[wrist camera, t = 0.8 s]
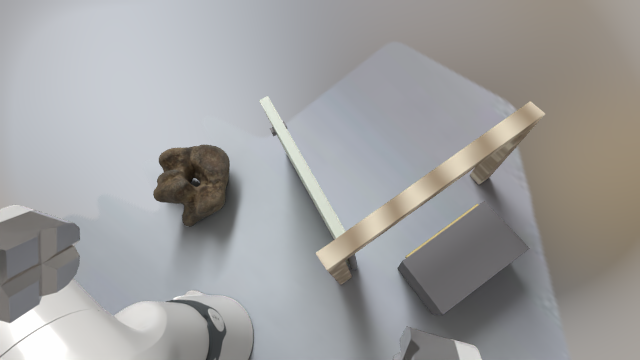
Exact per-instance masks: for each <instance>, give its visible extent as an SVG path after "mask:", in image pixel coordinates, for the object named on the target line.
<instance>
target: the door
mask: <svg viewBox="0 0 640 360" xmlns="http://www.w3.org/2000/svg"><path fill="white" fill-rule="evenodd" d="M259 101H260V103H261V105H262V107H263V109H264V111H265V113H266V115H267V117H268V119H269V120H270V122H271V124H272V126H273V127H272V128H270V130H271V132H272V134H273V136H275V135H277V136H278V138H279V140H280V142H281V144H282V146H283V148H284V150H285V152H286V154H287V155H288V157H289V159H290V161H291V163H292V164H293V166H294V168H295V170H296V172H297V173H298V175H299V177H300V179H301V181H302V182H303V184H304V186H305V188H306V190H307V191H308V193H309V195H310V197H311V199H312V200H313V202H314V204H315V206H316V208H317V209H318V211H319V213H320V215H321V217H322V218H323V220H324V222H325V224H326V226H327V228H328V229H329V231H330V233H331V235H332V237H333V238H334V240H335V239H336V238H338V237H339V236H340V235H342V234H343V233H345V232H346V231H345V230H344V228H343V226H342V224H341V223H340V221H339V219H338V217H337V216H336V214H335V212H334V210H333V209H332V207H331V205H330V204H329V202H328V200H327V198H326V197H325V195H324V193H323V191H322V190H321V188H320V186H319V184H318V183H317V181H316V179H315V177H314V176H313V174H312V172H311V170H310V169H309V167H308V165H307V163H306V162H305V160H304V158H303V156H302V155H301V153H300V151H299V150H298V148H297V146H296V144H295V143H294V141H293V139H292V137H291V136H290V134H289V132H288V130H287V127H286V125H285V123H284V121H283V122H282V120H281V118H280V116H279V115H278V113H277V111H276V109H275V108H274V106H273V104H272V102H271V101H270V99H269V97H268V96H267V97H265V98H263V99H261V100H259ZM346 262H347V264H348V265H349V264H350V267H351V269H352V270H356V269H357V262H356V258H355V254H353V255H352V256H351V257H349V258H348V259H346Z"/></svg>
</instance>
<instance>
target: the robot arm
mask: <svg viewBox="0 0 640 360" xmlns="http://www.w3.org/2000/svg"><path fill="white" fill-rule="evenodd" d="M79 241H80V228H79V227H78V226H77V225H76V224H75V223H73V222H70V221H67V220H64V219H61V218H58V217H55V216H52V215H49V214H46V213H42V212H40V211H36V210H34V209H30V208H27V207H24V206H18V205H11V206H8V207H5V208H2V209H0V360H248V359H249V356H250V354H251V350H252V345H253V328H252V323H251V320H250V318H249V316H248V314H247V312H246V310H245V309H244V308H243V307H242V306H241V305H240V304H239V303H238V302H237V301H235V300H234V299H232V298H229V297H226V296H221V295H206V294H204V293H201V292H199V291H196V290H192V291H189V292H187V293H186V294H185V295H184V296H178V297H175V298H174V299H173V300H171V301H166V302H157V301H142V302H138V303H135V304H132V305H130V306H128V307H126V308H125V309H123V310H121V311H120V312H118V313H117V314H116V315H115V316H113V315H112V314H111V313H109V312H108V311H106V310H105V309H104V308H103V307H102V306H101V305H100V304H99V303H98V302H97V301H96V300H95V299H94V298H93V297H92V296H91V295H90V294H89V293H88V292H87V291H86V290H85V289H84V288H83V287H82V286H81V285H80V284H79V283H78V282H77V281H76V280H75V279H74V276H75V275H76V273H77V270H78V267H79V261H80V256H79V254H78V252H77V250H76V248H75V247H74V246H75V245H76V244H77V243H78V242H79ZM400 351H401V352H399V353H398V354H396V355H394V357H393V360H482V358H481V356H480V353H479V350H478V349H477V348H476V347H475V346H474V345H471V344H468V343H464V342H460V341H457V340H453V339H451V340H450V339H447V338H444V337H440V336H437V335H434V334H430V333H427V332H424V331H421V330H417V329H414V328H411V327H406V328H405V330H404V331H403V333H402V336H401V338H400Z"/></svg>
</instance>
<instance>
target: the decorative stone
mask: <svg viewBox="0 0 640 360" xmlns="http://www.w3.org/2000/svg"><path fill="white" fill-rule="evenodd" d="M159 163H160V165H161V167H162V168H163V170H164V173H162V174H161V175H160V176H159V177H158V179H157V183H158V186H157V187H156V189H155V190H154V194H153V195H154V198H155V199H156V200H157V201H160V202H167V203H182V204H184V212H183V215H182V221H183V223H184V225H186V226H189V227H190V226H193V225H194V224H195V223H197V222H198V221H200V220H201V219H203V218H205V217H207V216H209V215H211V214H213V213H214V212H217V211H219V210H220V209H221V208H222V207H223V205H224V203H225V191H226V186H227V183H228V178H229V166H230V165H229V158H228V156H227V154H226V153H225V152H224V151H223V150H222V149H220V148H218V147H216V146H211V145H200V146H194V147H189V148H172V149H169V150H166V151H165V152H163V153H162V154H161V155H160V157H159ZM193 178H196V179H198V180H199V181H200V186H198V187H195V186H193V185H191V182H192V179H193Z"/></svg>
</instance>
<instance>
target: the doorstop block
mask: <svg viewBox="0 0 640 360" xmlns="http://www.w3.org/2000/svg"><path fill="white" fill-rule="evenodd" d="M528 249H530V248H529V247H528V246H527V245H526V244H525V243H524V242H523V241H522V240H521V239H520V238H519V237H518V236H517V235H516V233H515V232H514V231H513V230H512V229H511V228H510V227H509V226H508V225H507V224H506V223H505V222H504V221H503V220H502V219H501V218H500V217H499V216H498V214H497V213H496V212H495V211H494V210H493V209H492V208H491V207H490V206H489V205H488V204H487V203H486V202H485V201H484V202H482V203H481V204H480V205H478V204H476V205H475V206H474V207H472V208H471V209H470V210H468V211H467V212H465V213H464V214H463V215H461V216H460V217H459V218H457V219H456V220H455V221H453V222H452V223H450V224H449V225H448V226H446V227H445V228H444V229H442V230H441V231H440V232H438V233H437V234H435V235H434V236H433V237H431V238H430V239H429V240H427V241H426V242H425V243H423V244H422V245H420V246H419V247H418V248H416V249H415V250H414V251H412V252H411V253H410V254H408V255H407V256H406V257H405V258H406V259H405V260H403V261H402V262H401V264H400V265H399V267H398V270H399V271H400V272H401V274H402V275H403V276H404V278H405V279H406V280H407V282H408V283H409V284H410V285H411V287H412V288H413V289H414V291H415V292H416V293H417V295H418V296H419V297H420V299H421V300H422V301H423V303H424V304H425V305H426V307H427V308H428V309H429V311H430V312H431V313H432V314H436V315H443V314H445V313H446V312H447V311H449V310H450V309H451V308H452V307H454V306H455V305H456V304H458V303H459V302H460V301H462V300H463V299H464V298H465V297H467V296H468V295H469V294H471V293H472V292H473V291H475V290H476V289H477V288H479V287H480V286H481V285H482V284H484V283H485V282H486V281H488V280H489V279H490V278H492V277H493V276H494V275H496V274H497V273H498V272H499V271H501V270H502V269H503V268H505V267H506V266H507V265H509V264H510V263H511V262H513V261H514V260H515V259H516V258H518V257H519V256H520V255H522V254H523V253H524V252H526V251H527V250H528Z"/></svg>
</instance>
